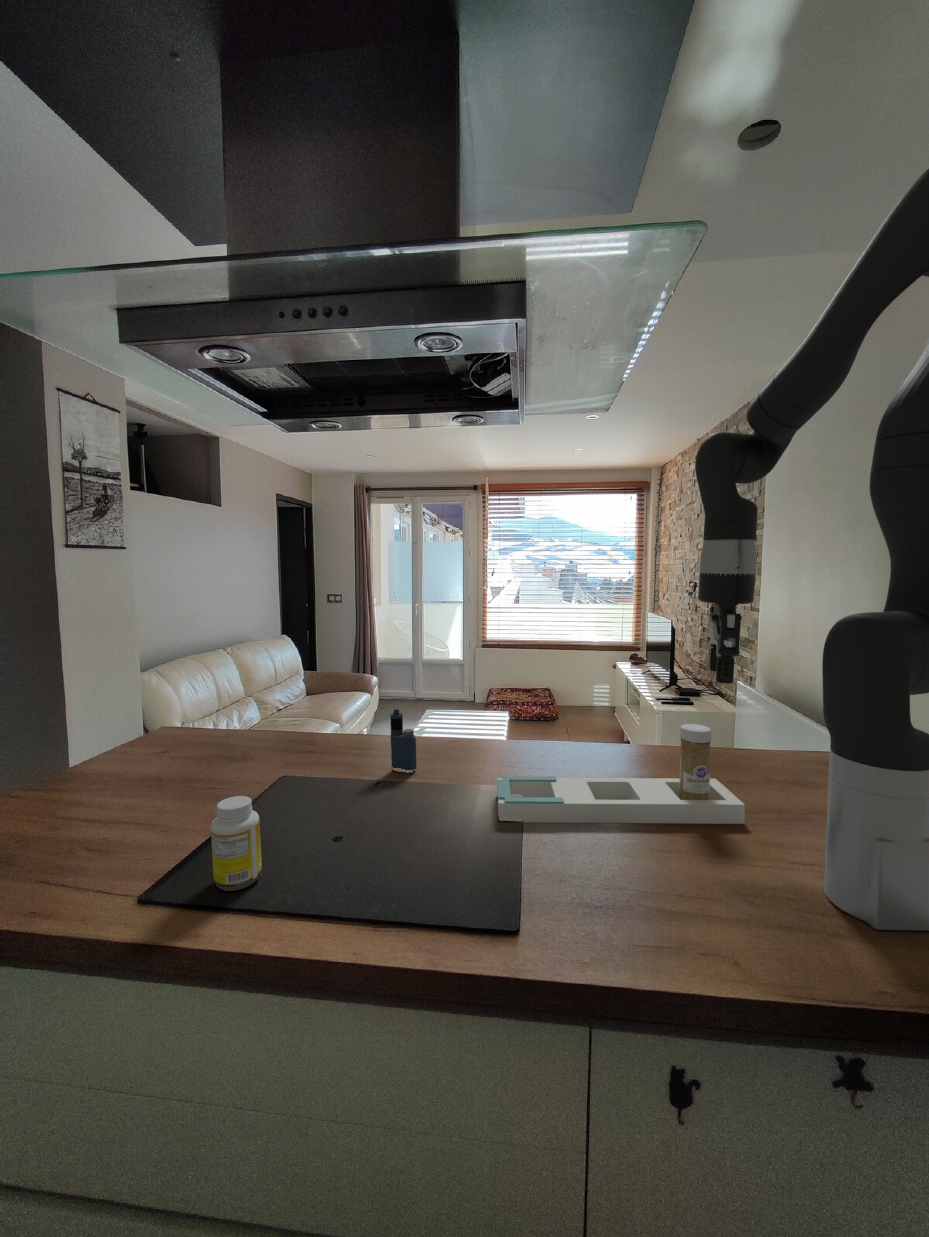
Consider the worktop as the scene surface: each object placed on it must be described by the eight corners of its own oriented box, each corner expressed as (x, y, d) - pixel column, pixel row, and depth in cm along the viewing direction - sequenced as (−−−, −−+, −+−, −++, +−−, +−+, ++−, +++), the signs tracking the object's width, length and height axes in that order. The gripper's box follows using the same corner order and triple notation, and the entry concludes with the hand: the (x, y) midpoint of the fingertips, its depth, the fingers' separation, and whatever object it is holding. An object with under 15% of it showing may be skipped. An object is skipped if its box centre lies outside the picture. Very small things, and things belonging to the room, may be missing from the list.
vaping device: (395, 766, 103) (394, 707, 102) (418, 770, 101) (417, 710, 100) (388, 771, 101) (387, 710, 100) (412, 774, 99) (411, 713, 98)
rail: (744, 823, 78) (745, 802, 77) (498, 822, 79) (498, 801, 79) (714, 795, 88) (715, 776, 87) (497, 794, 89) (496, 776, 89)
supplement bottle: (241, 864, 68) (237, 789, 67) (271, 875, 66) (268, 797, 65) (203, 887, 63) (199, 806, 63) (234, 899, 61) (230, 816, 60)
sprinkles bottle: (692, 817, 80) (694, 732, 79) (672, 804, 84) (673, 724, 83) (716, 812, 81) (718, 729, 80) (695, 801, 86) (697, 721, 85)
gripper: (765, 572, 69) (757, 689, 71) (746, 570, 83) (739, 669, 85) (704, 571, 72) (697, 685, 74) (695, 569, 85) (690, 665, 87)
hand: (720, 676), depth 79 cm, fingers open, 8 cm apart
